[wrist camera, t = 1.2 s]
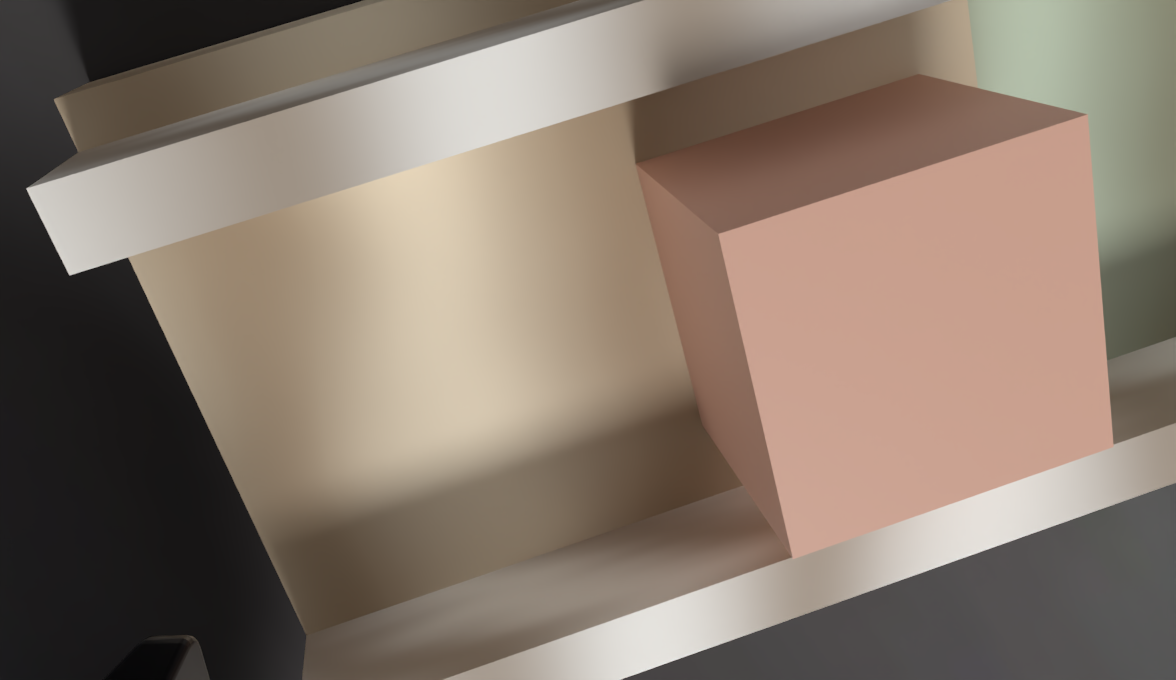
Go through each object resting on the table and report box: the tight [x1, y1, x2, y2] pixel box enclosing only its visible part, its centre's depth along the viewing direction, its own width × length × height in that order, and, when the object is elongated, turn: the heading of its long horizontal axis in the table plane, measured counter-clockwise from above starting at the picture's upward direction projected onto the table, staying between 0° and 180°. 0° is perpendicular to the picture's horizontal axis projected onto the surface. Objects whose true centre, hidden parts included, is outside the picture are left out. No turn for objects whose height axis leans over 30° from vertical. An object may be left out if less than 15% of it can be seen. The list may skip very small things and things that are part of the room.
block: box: [636, 74, 1114, 559], centre depth 16 cm, size 5×5×4 cm
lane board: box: [26, 0, 1176, 680], centre depth 18 cm, size 30×12×4 cm, turn 106°
